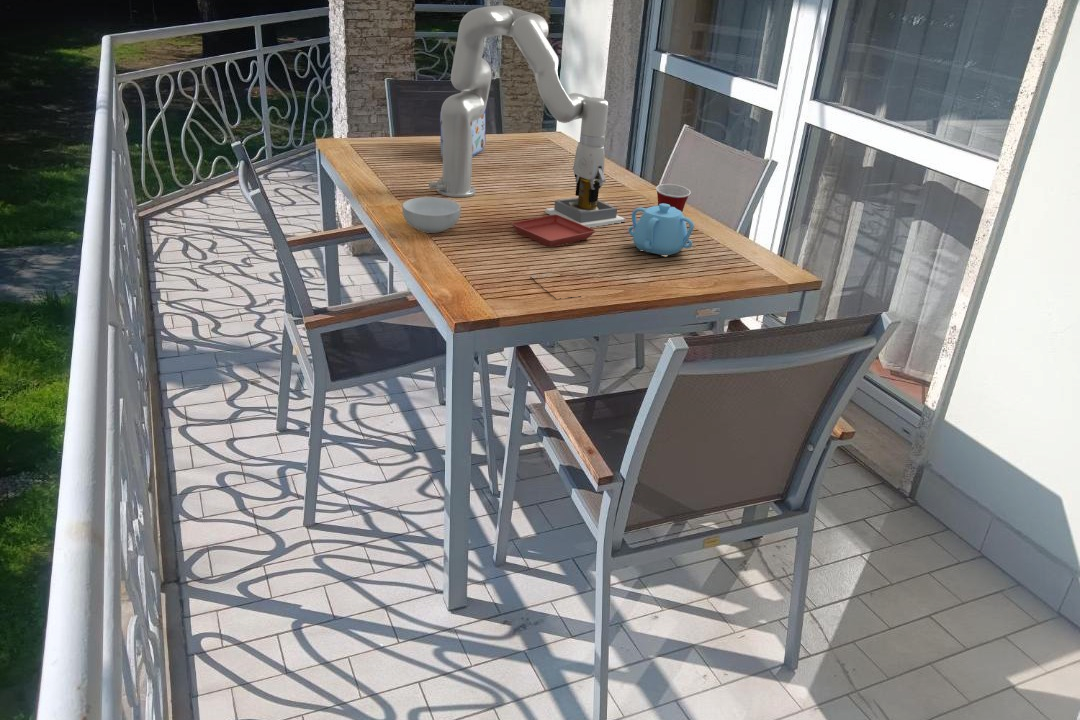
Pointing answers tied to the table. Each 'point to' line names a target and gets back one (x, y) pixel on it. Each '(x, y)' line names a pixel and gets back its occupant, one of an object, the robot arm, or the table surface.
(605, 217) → the holder
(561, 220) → the plant saucer
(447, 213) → the cereal bowl
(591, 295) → the table surface
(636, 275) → the table surface
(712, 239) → the table surface
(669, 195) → the plastic cup
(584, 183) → the condiment
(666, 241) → the decorative pot
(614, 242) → the table surface
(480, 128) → the lunch box
